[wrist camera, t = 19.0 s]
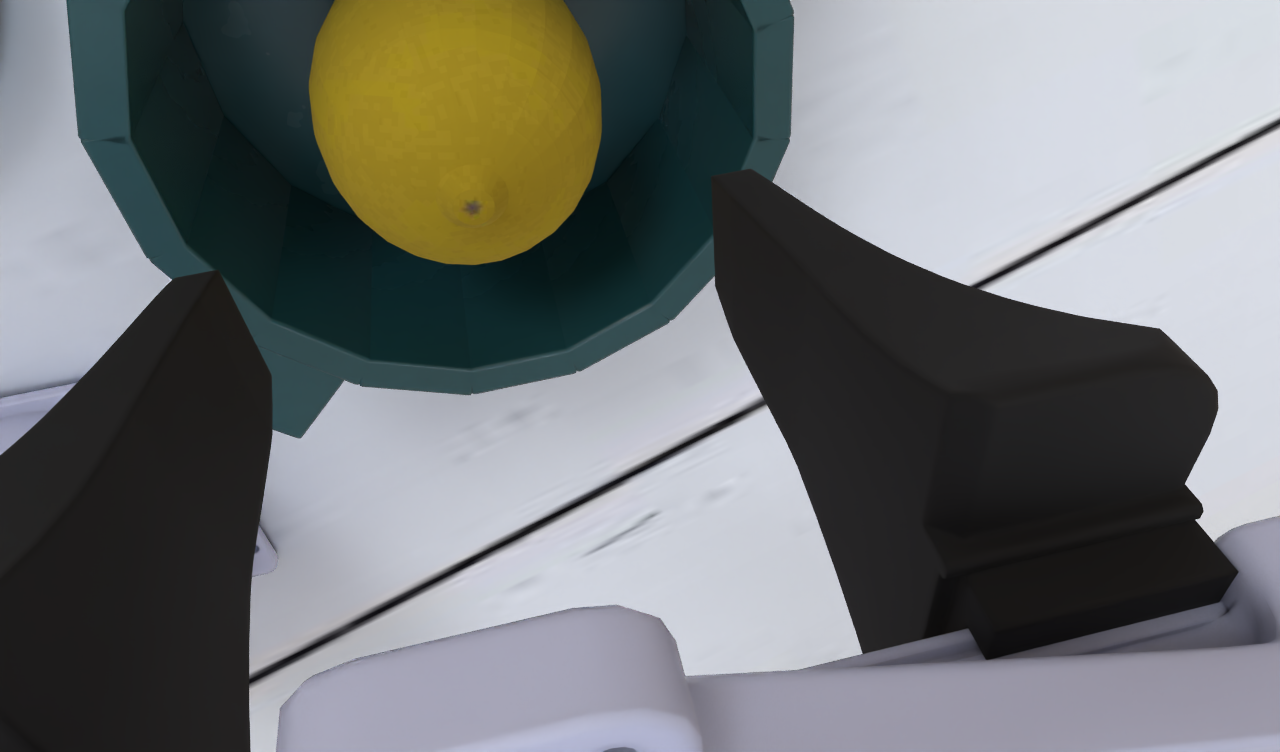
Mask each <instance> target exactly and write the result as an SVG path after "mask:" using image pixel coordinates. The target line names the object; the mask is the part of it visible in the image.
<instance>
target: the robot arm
mask: <svg viewBox="0 0 1280 752" xmlns="http://www.w3.org/2000/svg"><path fill="white" fill-rule="evenodd" d="M711 187H712V213H713V239H714V266H715V287H716V290H717V293H718V296H719V299H720V302H721V304H722V307H723V310H724V313H725V316H726V319H727V322H728V325H729V328H730V330H731V333H732V336H733V339H734V341H735V343H736V345H737V347H738V349H739V351H740V353H741V355H742V357H743V359H744V361H745V363H746V364H747V366H748V368H749V370H750V372H751V374H752V376H753V378H754V380H755V382H756V384H757V386H758V388H759V390H760V392H761V394H762V396H763V398H764V400H765V402H766V403H767V405H768V407H769V409H770V411H771V413H772V415H773V417H774V419H775V421H776V423H777V425H778V427H779V429H780V431H781V433H782V434H783V436H784V438H785V440H786V442H787V444H788V447H789V449H790V451H791V453H792V455H793V458H794V460H795V462H796V464H797V466H798V469H799V472H800V474H801V477H802V480H803V482H804V485H805V488H806V490H807V493H808V496H809V498H810V501H811V504H812V506H813V509H814V512H815V514H816V517H817V520H818V523H819V525H820V528H821V531H822V534H823V537H824V539H825V542H826V545H827V548H828V551H829V554H830V556H831V559H832V562H833V565H834V568H835V570H836V573H837V576H838V579H839V582H840V585H841V588H842V591H843V594H844V597H845V600H846V603H847V606H848V610H849V613H850V616H851V619H852V622H853V625H854V628H855V631H856V634H857V637H858V640H859V643H860V647H861V650H862V653H863V654H861V655H857V656H853V657H849V658H845V659H841V660H837V661H833V662H829V663H824V664H820V665H816V666H812V667H808V668H804V669H800V670H790V671H772V672H753V673H734V674H716V675H697V676H685V673H684V670H683V666H682V662H681V659H680V655H679V651H678V648H677V644H676V641H675V639H674V638H673V636H672V635H671V633H670V632H669V630H668V629H667V628H666V626H665V625H664V623H663V622H662V620H661V619H660V618H657V617H655V616H652V615H649V614H646V613H642V612H639V611H636V610H632V609H629V608H626V607H622V606H619V605H607V606H595V607H582V608H571V609H567V610H563V611H558V612H554V613H550V614H545V615H541V616H537V617H532V618H528V619H524V620H520V621H515V622H511V623H507V624H502V625H498V626H494V627H489V628H485V629H481V630H477V631H472V632H468V633H464V634H459V635H455V636H451V637H446V638H442V639H438V640H434V641H429V642H425V643H421V644H416V645H412V646H408V647H403V648H399V649H395V650H390V651H386V652H382V653H378V654H373V655H369V656H365V657H360V658H356V659H353V660H351V661H348V662H346V663H343V664H341V665H338V666H336V667H333V668H331V669H328V670H326V671H323V672H321V673H318V674H316V675H313V676H312V677H310V678H309V679H307V680H306V681H304V682H303V684H302V685H301V686H300V687H299V688H298V689H297V690H296V691H295V692H294V693H293V695H292V696H291V697H290V698H289V699H288V700H287V701H286V702H285V703H284V704H283V705H282V707H281V708H280V714H279V725H278V736H277V747H276V752H1280V516H1277V517H1272V518H1268V519H1264V520H1260V521H1256V522H1252V523H1248V524H1244V525H1241V526H1239V527H1236V528H1233V529H1231V530H1229V531H1228V532H1226V533H1225V534H1223V535H1222V536H1220V537H1219V538H1217V540H1216V541H1215V542H1213V541H1212V539H1211V538H1210V537H1209V536H1208V535H1207V534H1206V532H1205V531H1204V530H1203V529H1202V528H1201V526H1200V525H1199V524H1198V523H1197V522H1196V521H1195V519H1199V518H1200V517H1201V515H1202V513H1203V507H1202V504H1201V502H1200V501H1199V500H1198V499H1197V498H1196V497H1195V495H1194V494H1193V493H1192V492H1191V491H1190V490H1189V489H1188V487H1187V486H1186V485H1185V482H1186V480H1187V478H1188V476H1189V474H1190V472H1191V470H1192V468H1193V466H1194V464H1195V462H1196V460H1197V458H1198V456H1199V454H1200V452H1201V450H1202V449H1203V447H1204V445H1205V443H1206V441H1207V439H1208V437H1209V435H1210V432H1211V429H1212V426H1213V423H1214V421H1215V418H1216V415H1217V411H1218V390H1217V389H1216V387H1215V386H1214V384H1213V382H1212V381H1211V379H1210V378H1209V376H1208V375H1207V374H1206V373H1205V372H1204V371H1203V370H1202V369H1201V368H1200V367H1199V366H1198V365H1197V364H1196V363H1195V362H1194V361H1193V360H1192V359H1191V358H1190V357H1189V356H1188V355H1187V354H1186V353H1185V352H1184V351H1183V350H1182V349H1181V348H1180V347H1179V346H1178V345H1177V344H1176V343H1174V342H1173V341H1172V340H1171V339H1170V338H1169V337H1168V336H1167V335H1166V334H1165V333H1164V332H1163V331H1162V330H1161V329H1158V328H1152V327H1145V326H1139V325H1133V324H1126V323H1120V322H1113V321H1107V320H1101V319H1094V318H1088V317H1083V316H1078V315H1073V314H1069V313H1064V312H1060V311H1055V310H1051V309H1047V308H1042V307H1038V306H1034V305H1030V304H1026V303H1023V302H1019V301H1015V300H1011V299H1008V298H1004V297H1001V296H998V295H995V294H992V293H989V292H986V291H982V290H979V289H976V288H973V287H970V286H967V285H964V284H961V283H959V282H956V281H953V280H950V279H948V278H945V277H942V276H940V275H938V274H935V273H933V272H931V271H928V270H926V269H923V268H921V267H919V266H916V265H914V264H912V263H909V262H907V261H905V260H903V259H901V258H898V257H896V256H894V255H892V254H890V253H888V252H886V251H884V250H882V249H881V248H879V247H877V246H875V245H873V244H871V243H869V242H867V241H865V240H864V239H862V238H860V237H858V236H856V235H854V234H853V233H851V232H849V231H848V230H846V229H844V228H842V227H841V226H839V225H837V224H836V223H834V222H832V221H831V220H829V219H828V218H826V217H824V216H823V215H821V214H820V213H818V212H816V211H815V210H813V209H812V208H810V207H809V206H807V205H805V204H804V203H802V202H801V201H799V200H798V199H796V198H795V197H793V196H792V195H790V194H789V193H787V192H786V191H784V190H783V189H781V188H780V187H779V186H777V185H776V184H774V183H773V182H771V181H770V180H768V179H767V178H765V177H764V176H762V175H760V174H759V173H757V172H756V171H754V170H752V169H746V170H740V171H735V172H730V173H724V174H719V175H714V176H711ZM272 425H273V403H272V375H271V373H270V371H269V369H268V367H267V365H266V363H265V361H264V359H263V357H262V355H261V353H260V351H259V349H258V347H257V345H256V343H255V341H254V339H253V337H252V335H251V333H250V331H249V329H248V327H247V325H246V323H245V321H244V319H243V317H242V315H241V313H240V311H239V309H238V307H237V305H236V303H235V301H234V299H233V297H232V295H231V293H230V291H229V289H228V287H227V285H226V283H225V281H224V279H223V278H222V276H221V274H220V272H219V270H214V271H208V272H203V273H198V274H193V275H187V276H182V277H177V278H174V279H173V280H172V281H171V282H170V283H169V284H168V285H167V286H166V287H165V288H164V289H163V290H162V291H161V292H160V293H159V294H158V295H157V296H156V297H155V298H154V299H153V300H152V301H151V303H150V304H149V305H148V306H147V307H146V308H145V309H144V310H143V311H142V313H141V314H140V315H139V316H138V317H137V318H136V319H135V320H134V322H133V323H132V324H131V325H130V326H129V327H128V328H127V330H126V331H125V332H124V333H123V334H122V335H121V336H120V337H119V338H118V340H117V341H116V342H115V343H114V344H113V345H112V346H111V347H110V348H109V349H108V351H107V352H106V353H105V354H104V355H103V356H102V357H101V358H100V359H99V361H98V362H97V363H96V364H95V365H94V366H93V367H92V368H91V369H90V370H89V371H88V372H87V373H86V374H85V375H84V376H83V377H82V378H81V379H80V380H79V381H78V382H77V383H73V384H68V385H63V386H58V387H53V388H48V389H43V390H38V391H33V392H28V393H23V394H18V395H12V396H7V397H2V398H0V752H250V720H249V632H250V595H251V581H252V577H255V576H259V575H264V574H268V573H270V572H273V571H274V570H275V569H276V568H277V565H278V556H277V554H276V552H275V550H274V549H273V547H272V546H271V544H270V542H269V541H268V539H267V537H266V536H265V534H264V533H263V531H262V529H261V528H260V526H259V522H260V515H261V509H262V502H263V496H264V489H265V483H266V476H267V469H268V462H269V456H270V449H271V441H272Z"/></svg>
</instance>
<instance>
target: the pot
mask: <svg viewBox="0 0 1280 752" xmlns="http://www.w3.org/2000/svg"><path fill="white" fill-rule="evenodd" d="M66 1H67V12H68V24H69V35H70V47H71V58H72V70H73V81H74V93H75V104H76V116H77V127H78V136H79V138H80V139H81V143H82V145H83V146H84V148H85V150H86V152H87V153H88V155H89V157H90V159H91V160H92V162H93V164H94V166H95V168H96V169H97V171H98V173H99V175H100V176H101V178H102V180H103V182H104V183H105V185H106V187H107V189H108V190H109V192H110V194H111V196H112V198H113V199H114V201H115V203H116V205H117V206H118V208H119V210H120V212H121V213H122V215H123V217H124V219H125V221H126V222H127V224H128V226H129V228H130V229H131V231H132V233H133V235H134V236H135V238H136V240H137V242H138V244H139V245H140V247H141V249H142V251H143V252H144V254H145V256H146V257H147V258H149V259H150V261H151V262H152V263H153V264H154V265H155V266H156V267H158V268H159V269H160V270H161V271H162V272H164V273H165V274H166V275H167V276H168V277H170V278H171V279H172V280H173V279H174V278H177V277H182V276H187V275H193V274H198V273H203V272H208V271H214V270H219V272H220V274H221V276H222V278H223V279H224V281H225V283H226V285H227V287H228V289H229V291H230V293H231V295H232V297H233V299H234V301H235V303H236V305H237V307H238V309H239V311H240V313H241V315H242V317H243V319H244V321H245V323H246V325H247V327H248V329H249V331H250V333H251V335H252V337H253V339H254V341H255V343H256V345H257V347H258V349H259V351H260V353H261V355H262V357H263V359H264V361H265V363H266V365H267V367H268V369H269V371H270V373H271V375H272V403H273V425H272V429H273V430H276V431H279V432H281V433H284V434H287V435H290V436H293V437H296V438H301V437H302V436H303V435H304V434H305V432H306V431H307V430H308V428H309V427H310V426H311V424H312V423H313V422H314V420H315V419H316V418H317V416H318V415H319V414H320V412H321V411H322V410H323V408H324V407H325V406H326V404H327V403H328V402H329V400H330V399H331V398H332V396H333V395H334V394H335V392H336V391H337V390H338V388H339V387H340V386H341V384H342V383H343V382H344V380H345V381H348V382H351V383H353V384H357V385H358V384H360V386H362V387H375V388H387V389H399V390H411V391H424V392H436V393H448V394H460V395H471V394H472V393H473V394H479V393H483V392H488V391H493V390H498V389H503V388H507V387H512V386H517V385H522V384H527V383H531V382H536V381H541V380H546V379H551V378H556V377H560V376H565V375H570V374H574V373H576V371H582V370H584V369H586V368H588V367H589V366H591V365H593V364H595V363H597V362H599V361H600V360H602V359H604V358H606V357H608V356H610V355H611V354H613V353H615V352H617V351H619V350H621V349H622V348H624V347H626V346H628V345H630V344H632V343H633V342H635V341H637V340H639V339H641V338H643V337H644V336H646V335H648V334H650V333H652V332H653V331H655V330H657V329H659V328H661V327H663V326H664V325H666V324H668V323H669V322H670V320H673V319H675V317H676V316H677V315H678V314H679V313H680V312H681V311H682V310H683V309H684V308H685V307H686V306H687V305H688V304H689V303H690V301H691V300H692V299H693V298H694V297H695V296H696V295H697V294H698V293H699V292H700V291H701V290H702V289H703V288H704V287H705V286H706V284H707V283H708V282H709V281H710V280H711V279H712V278H713V277H714V276H715V266H714V239H713V213H712V187H711V176H714V175H719V174H724V173H730V172H735V171H740V170H746V169H752V170H754V171H756V172H757V173H759V174H760V175H762V176H764V177H765V178H767V179H768V180H770V181H771V182H772V181H773V179H774V177H775V174H776V172H777V170H778V167H779V165H780V163H781V161H782V158H783V156H784V154H785V151H786V149H787V147H788V144H789V142H790V139H789V138H790V135H791V106H792V72H793V39H794V16H793V14H794V10H793V8H792V5H791V3H790V0H563V1H564V2H565V4H566V5H567V7H568V9H569V10H570V12H571V14H572V15H573V17H574V18H575V20H576V22H577V23H578V25H579V27H580V28H581V30H582V31H583V33H584V35H585V37H586V39H587V41H588V44H589V48H590V51H591V54H592V58H593V61H594V64H595V68H596V71H597V74H598V78H599V81H600V88H601V116H602V133H601V141H600V145H599V149H598V153H597V158H596V162H595V166H594V170H593V174H592V177H591V180H590V182H589V184H588V186H587V187H586V189H585V191H584V193H583V195H582V197H581V199H580V200H579V202H578V204H577V206H576V208H575V210H574V211H573V212H572V213H571V214H570V216H569V217H568V218H567V219H566V220H565V221H564V222H563V223H562V224H561V225H560V226H559V227H558V229H557V230H556V231H555V232H554V233H552V234H551V235H549V236H548V237H546V238H545V239H543V240H542V241H541V242H539V243H538V244H536V245H535V246H533V247H532V248H530V249H529V250H527V251H525V252H522V253H520V254H517V255H515V256H512V257H510V258H507V259H505V260H502V261H496V262H490V263H483V264H477V265H464V264H445V263H441V262H437V261H433V260H429V259H425V258H421V257H418V256H415V255H413V254H411V253H409V252H407V251H405V250H403V249H401V248H399V247H397V246H395V245H393V244H391V243H389V242H387V241H386V240H385V239H384V238H382V237H381V236H380V235H379V234H377V233H376V232H375V231H374V230H373V229H371V228H370V227H369V226H368V225H366V224H365V223H364V222H363V221H362V220H361V219H360V218H359V217H358V216H357V215H356V213H355V212H354V211H353V209H352V208H351V207H350V205H349V204H348V203H347V201H346V200H345V199H344V198H343V196H342V195H341V194H340V192H339V191H338V189H337V188H336V186H335V185H334V183H333V181H332V178H331V176H330V174H329V171H328V169H327V166H326V164H325V161H324V159H323V157H322V154H321V152H320V149H319V147H318V144H317V141H316V138H315V135H314V129H313V122H312V113H311V104H310V96H309V78H310V71H311V65H312V59H313V53H314V47H315V42H316V38H317V35H318V33H319V31H320V29H321V27H322V25H323V23H324V21H325V19H326V17H327V15H328V13H329V11H330V9H331V7H332V5H333V3H334V1H335V0H66Z"/></svg>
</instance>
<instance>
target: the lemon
mask: <svg viewBox="0 0 1280 752" xmlns="http://www.w3.org/2000/svg"><path fill="white" fill-rule="evenodd" d="M309 96H310V104H311V113H312V122H313V129H314V135H315V138H316V141H317V144H318V147H319V149H320V152H321V154H322V157H323V159H324V161H325V164H326V166H327V169H328V171H329V174H330V176H331V178H332V181H333V183H334V185H335V186H336V188H337V189H338V191H339V192H340V194H341V195H342V196H343V198H344V199H345V200H346V201H347V203H348V204H349V205H350V207H351V208H352V209H353V211H354V212H355V213H356V215H357V216H358V217H359V218H360V219H361V220H362V221H363V222H364V223H365V224H366V225H368V226H369V227H370V228H371V229H373V230H374V231H375V232H376V233H377V234H379V235H380V236H381V237H382V238H384V239H385V240H386V241H387V242H389V243H391V244H393V245H395V246H397V247H399V248H401V249H403V250H405V251H407V252H409V253H411V254H413V255H415V256H418V257H421V258H425V259H429V260H433V261H437V262H441V263H445V264H464V265H477V264H483V263H490V262H496V261H502V260H505V259H507V258H510V257H512V256H515V255H517V254H520V253H522V252H525V251H527V250H529V249H530V248H532V247H533V246H535V245H536V244H538V243H539V242H541V241H542V240H543V239H545V238H546V237H548V236H549V235H551V234H552V233H554V232H555V231H556V230H557V229H558V227H559V226H560V225H561V224H562V223H563V222H564V221H565V220H566V219H567V218H568V217H569V216H570V214H571V213H572V212H573V211H574V210H575V208H576V206H577V204H578V202H579V200H580V199H581V197H582V195H583V193H584V191H585V189H586V187H587V186H588V184H589V182H590V180H591V177H592V174H593V170H594V166H595V162H596V158H597V153H598V149H599V145H600V141H601V133H602V116H601V88H600V81H599V78H598V74H597V71H596V68H595V64H594V61H593V58H592V54H591V51H590V48H589V44H588V41H587V39H586V37H585V35H584V33H583V31H582V30H581V28H580V27H579V25H578V23H577V22H576V20H575V18H574V17H573V15H572V14H571V12H570V10H569V9H568V7H567V5H566V4H565V2H564V1H563V0H335V1H334V3H333V5H332V7H331V9H330V11H329V13H328V15H327V17H326V19H325V21H324V23H323V25H322V27H321V29H320V31H319V33H318V35H317V38H316V42H315V47H314V53H313V59H312V65H311V71H310V78H309Z"/></svg>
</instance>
